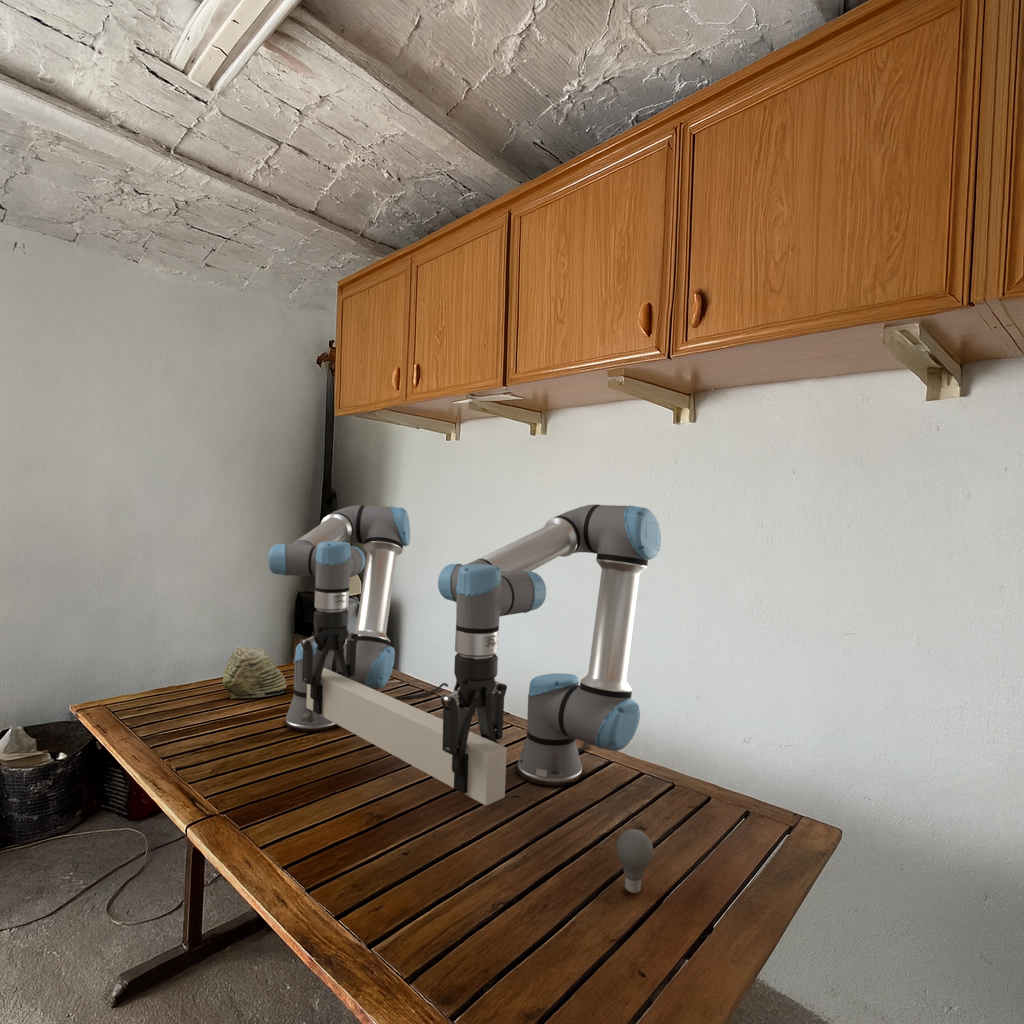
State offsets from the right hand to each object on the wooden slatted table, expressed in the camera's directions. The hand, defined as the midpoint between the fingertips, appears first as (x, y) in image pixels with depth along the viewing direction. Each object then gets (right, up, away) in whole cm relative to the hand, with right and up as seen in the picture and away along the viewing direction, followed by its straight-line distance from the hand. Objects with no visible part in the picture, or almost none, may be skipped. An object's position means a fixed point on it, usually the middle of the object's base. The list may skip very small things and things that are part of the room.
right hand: (471, 785), depth 111 cm
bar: (-18, +1, +17) cm, 25 cm away
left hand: (-35, +2, +34) cm, 49 cm away
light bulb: (+27, -15, -5) cm, 32 cm away
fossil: (-74, -9, +87) cm, 114 cm away
